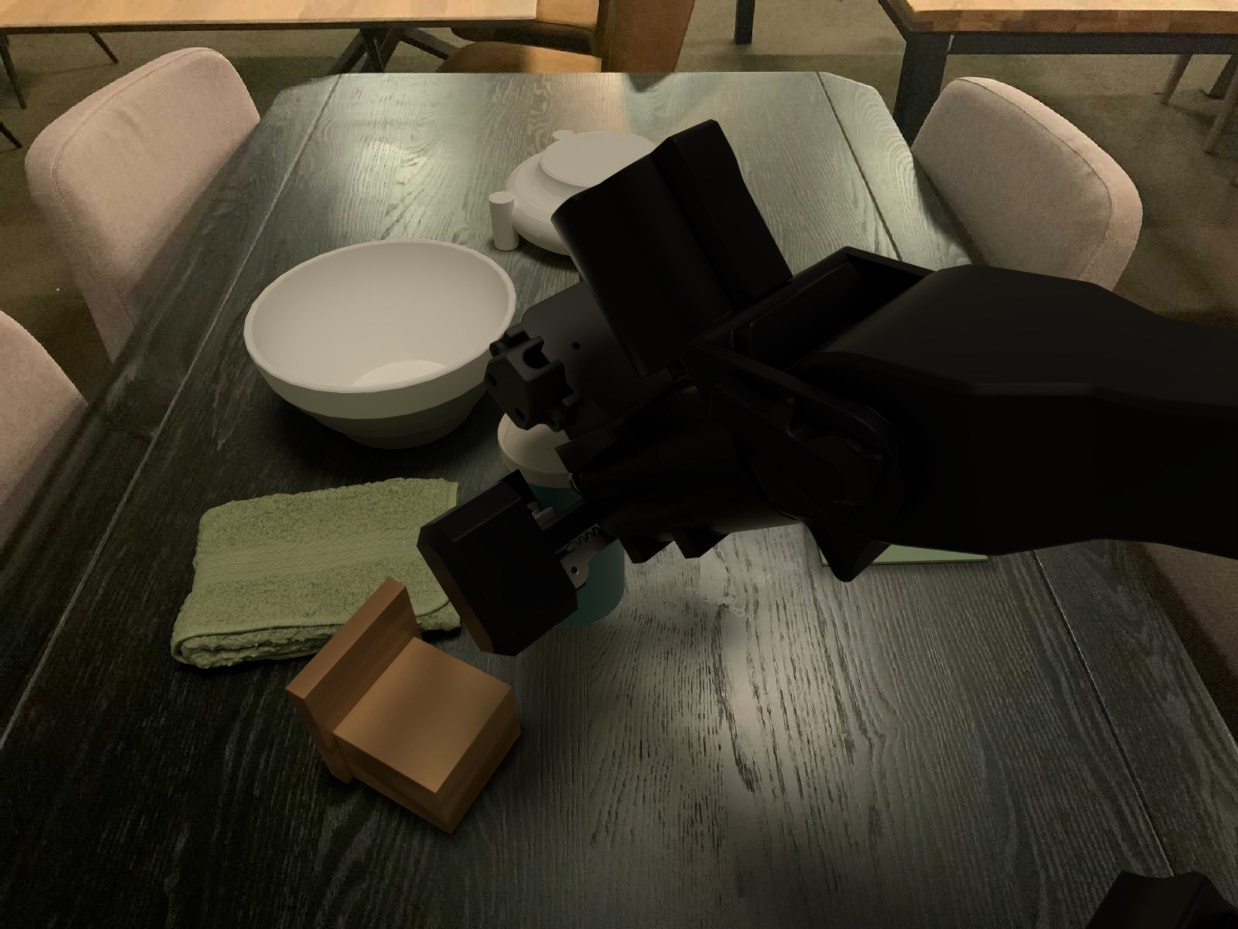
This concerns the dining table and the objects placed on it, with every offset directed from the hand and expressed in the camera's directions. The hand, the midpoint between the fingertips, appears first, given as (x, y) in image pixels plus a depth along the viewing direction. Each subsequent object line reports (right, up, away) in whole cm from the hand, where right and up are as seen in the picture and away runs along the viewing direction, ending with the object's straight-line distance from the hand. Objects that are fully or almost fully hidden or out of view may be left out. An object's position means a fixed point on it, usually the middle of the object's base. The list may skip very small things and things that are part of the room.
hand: (552, 502), depth 45 cm
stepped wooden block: (-6, -14, +2) cm, 16 cm away
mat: (+22, -1, +16) cm, 27 cm away
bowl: (-14, +7, +24) cm, 28 cm away
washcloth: (-15, -6, +11) cm, 20 cm away
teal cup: (+1, -5, +3) cm, 6 cm away
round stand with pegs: (+2, +27, +45) cm, 52 cm away
